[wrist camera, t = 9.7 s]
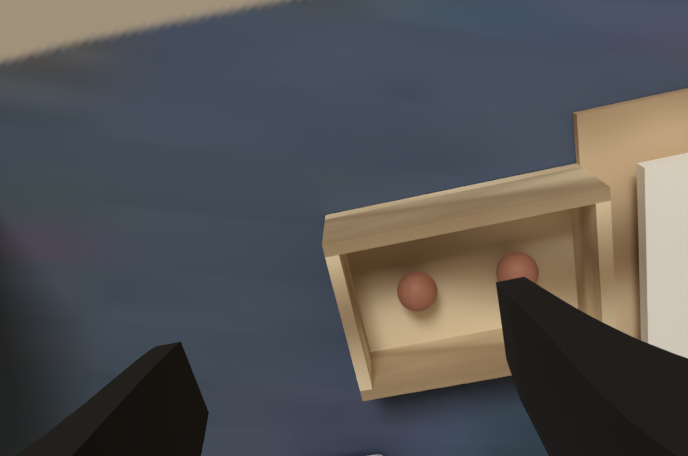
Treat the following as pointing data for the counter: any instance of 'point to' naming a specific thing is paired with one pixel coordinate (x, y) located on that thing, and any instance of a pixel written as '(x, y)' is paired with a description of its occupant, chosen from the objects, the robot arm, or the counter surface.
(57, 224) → the counter surface
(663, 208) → the lid
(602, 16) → the counter surface
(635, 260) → the mat
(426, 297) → the box
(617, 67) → the counter surface
